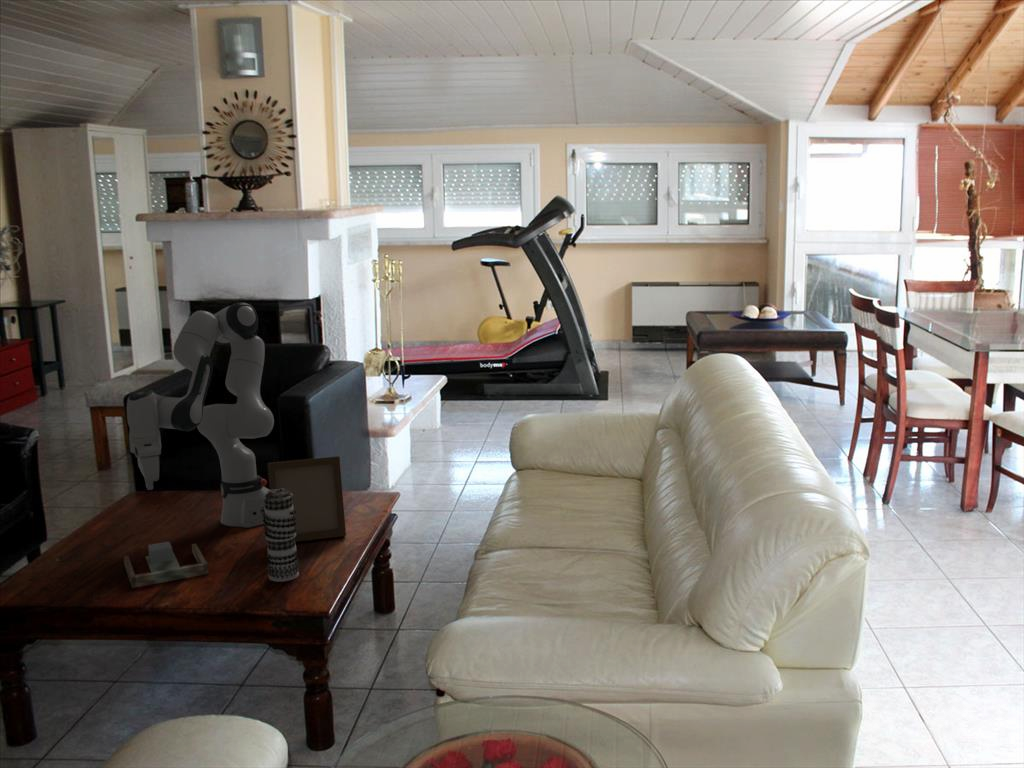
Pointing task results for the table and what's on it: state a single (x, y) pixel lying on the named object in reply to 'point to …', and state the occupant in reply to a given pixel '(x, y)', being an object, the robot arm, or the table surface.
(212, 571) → the table surface
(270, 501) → the black white tall cylinder
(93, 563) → the table surface
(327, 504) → the photo frame
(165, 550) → the block
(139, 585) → the grey-green e-shaped frame
